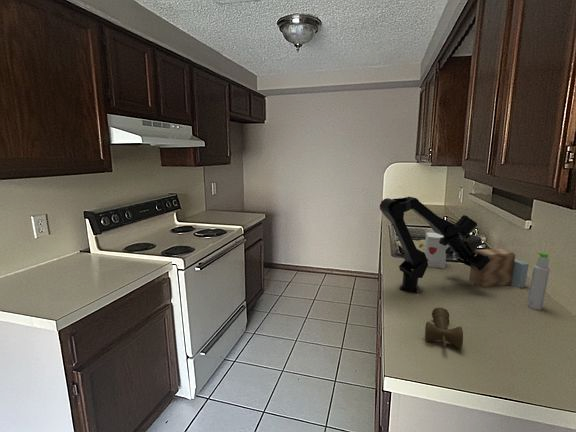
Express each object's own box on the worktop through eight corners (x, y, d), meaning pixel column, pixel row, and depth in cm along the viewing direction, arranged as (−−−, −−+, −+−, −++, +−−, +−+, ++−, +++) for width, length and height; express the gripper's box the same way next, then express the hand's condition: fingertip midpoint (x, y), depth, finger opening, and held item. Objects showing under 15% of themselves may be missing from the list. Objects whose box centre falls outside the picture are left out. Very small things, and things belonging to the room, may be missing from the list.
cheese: (435, 261, 165) (420, 238, 174) (438, 255, 159) (422, 231, 168) (407, 270, 165) (393, 247, 173) (409, 264, 159) (395, 240, 167)
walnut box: (481, 286, 130) (486, 255, 127) (469, 280, 137) (473, 249, 134) (510, 284, 133) (515, 253, 130) (496, 277, 140) (501, 248, 137)
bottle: (526, 302, 117) (536, 250, 113) (541, 306, 114) (552, 253, 110) (526, 307, 113) (536, 253, 109) (542, 311, 111) (553, 256, 107)
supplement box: (424, 266, 152) (427, 236, 149) (422, 260, 161) (425, 231, 158) (445, 268, 149) (448, 238, 146) (442, 262, 158) (445, 233, 155)
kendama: (456, 325, 102) (464, 360, 84) (423, 319, 106) (424, 352, 87) (457, 307, 101) (466, 339, 83) (424, 302, 105) (426, 332, 86)
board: (518, 287, 130) (522, 264, 128) (490, 274, 143) (493, 253, 141) (524, 287, 130) (528, 264, 128) (496, 274, 144) (499, 253, 142)
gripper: (489, 235, 119) (510, 262, 123) (454, 224, 136) (473, 248, 141) (468, 257, 119) (489, 282, 123) (436, 243, 136) (455, 265, 141)
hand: (476, 268), depth 132 cm, fingers closed, pressing on walnut box
